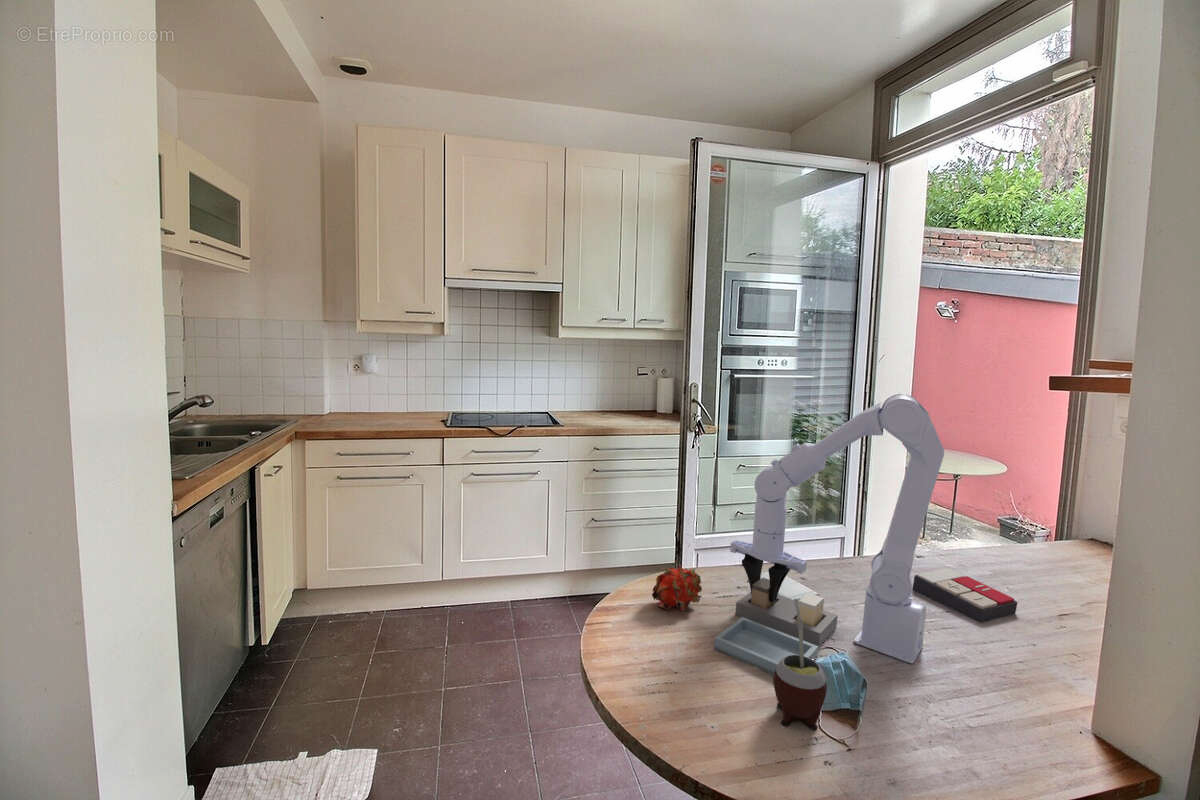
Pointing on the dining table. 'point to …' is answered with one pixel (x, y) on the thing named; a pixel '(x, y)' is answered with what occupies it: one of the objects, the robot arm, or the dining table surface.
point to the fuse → (811, 609)
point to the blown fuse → (761, 593)
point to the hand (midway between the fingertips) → (763, 597)
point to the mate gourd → (799, 685)
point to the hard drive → (791, 588)
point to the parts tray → (760, 644)
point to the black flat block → (964, 595)
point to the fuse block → (786, 619)
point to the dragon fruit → (677, 588)
